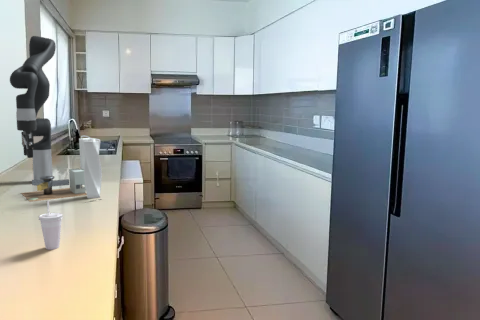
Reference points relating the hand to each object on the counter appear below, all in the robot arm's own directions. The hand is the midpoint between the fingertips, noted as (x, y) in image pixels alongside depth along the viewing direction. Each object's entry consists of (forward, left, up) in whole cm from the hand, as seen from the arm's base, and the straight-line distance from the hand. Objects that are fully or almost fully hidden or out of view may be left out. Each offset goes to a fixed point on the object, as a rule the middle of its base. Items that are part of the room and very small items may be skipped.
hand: (28, 156), depth 190 cm
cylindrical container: (0, +25, -19) cm, 31 cm away
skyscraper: (+18, +22, -19) cm, 34 cm away
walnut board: (+3, +9, -18) cm, 21 cm away
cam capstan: (+3, +6, -17) cm, 18 cm away
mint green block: (+9, -1, -17) cm, 19 cm away
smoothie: (+75, -7, -19) cm, 77 cm away
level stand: (+4, +19, -17) cm, 26 cm away
